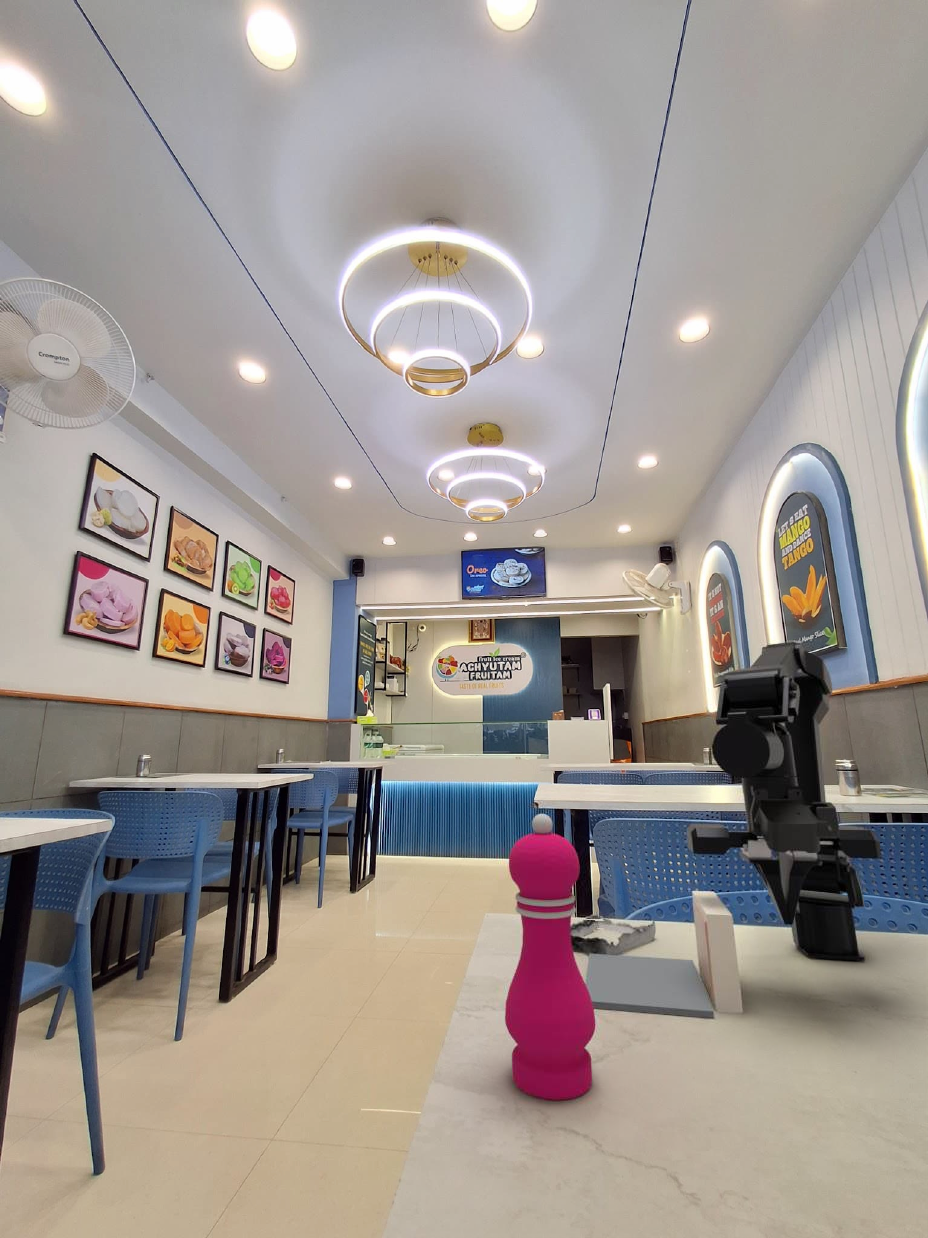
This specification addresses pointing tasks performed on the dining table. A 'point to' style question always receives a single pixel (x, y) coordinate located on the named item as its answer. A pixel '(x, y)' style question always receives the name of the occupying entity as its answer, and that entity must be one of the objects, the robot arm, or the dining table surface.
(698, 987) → the slate mat
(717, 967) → the ceramic tile
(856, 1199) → the dining table surface
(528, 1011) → the pepper mill
